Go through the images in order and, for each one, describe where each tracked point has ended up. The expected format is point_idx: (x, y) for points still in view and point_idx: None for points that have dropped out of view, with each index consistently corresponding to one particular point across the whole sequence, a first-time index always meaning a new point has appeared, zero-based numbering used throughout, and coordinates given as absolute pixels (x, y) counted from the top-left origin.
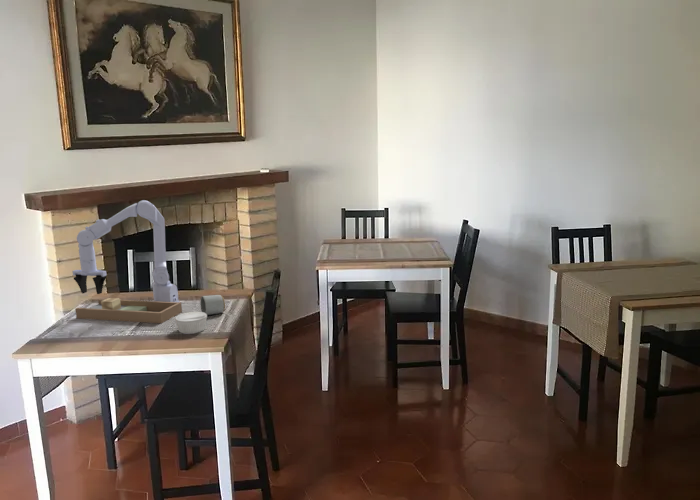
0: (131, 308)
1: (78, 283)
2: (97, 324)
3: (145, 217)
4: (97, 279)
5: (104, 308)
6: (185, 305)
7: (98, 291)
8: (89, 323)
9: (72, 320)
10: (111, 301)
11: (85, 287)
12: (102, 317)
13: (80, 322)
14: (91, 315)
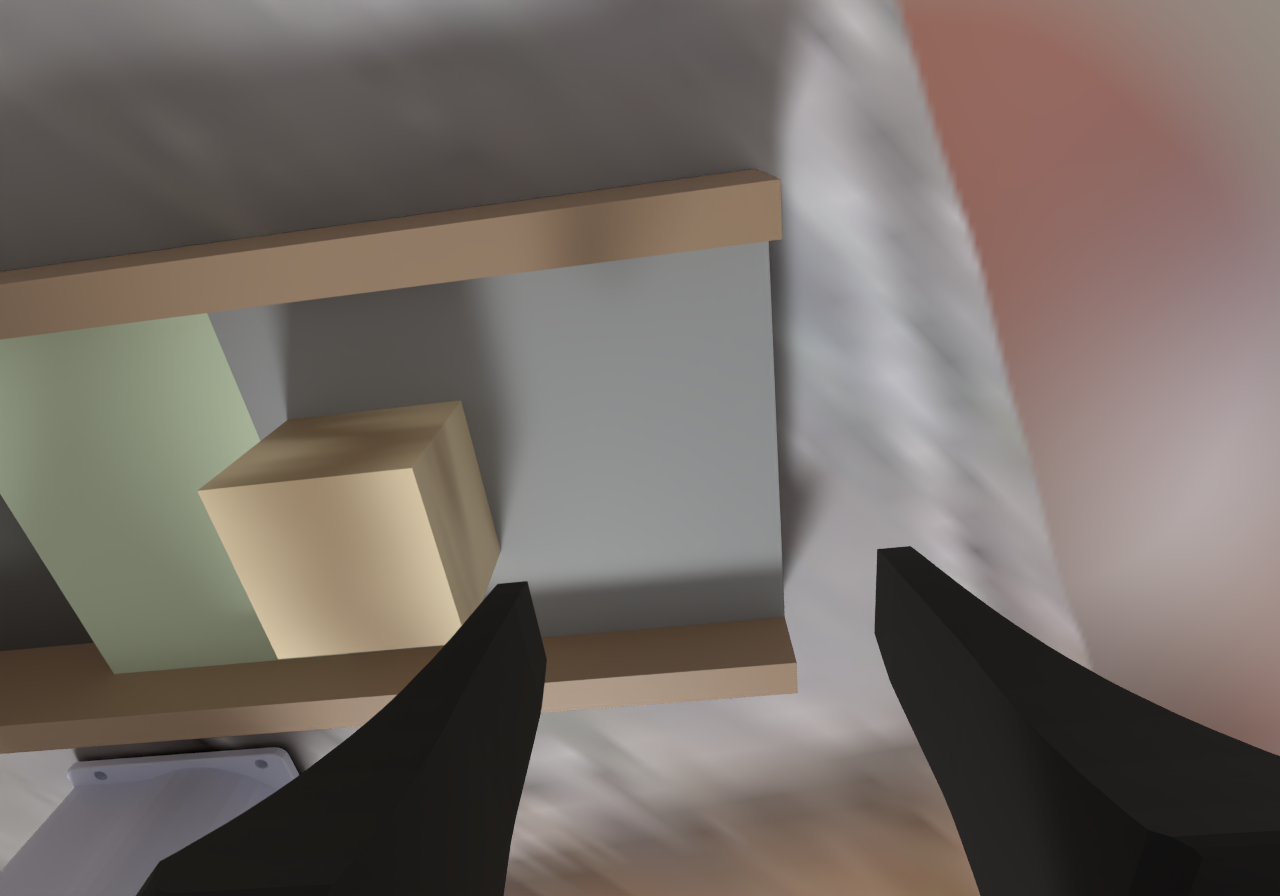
0: (196, 579)
1: (1069, 689)
2: (165, 12)
3: None
4: (145, 884)
5: (407, 421)
6: (21, 828)
7: (470, 620)
8: (332, 13)
9: (737, 56)
10: (225, 503)
11: (918, 703)
12: (294, 235)
13: (518, 8)
14: (472, 212)
